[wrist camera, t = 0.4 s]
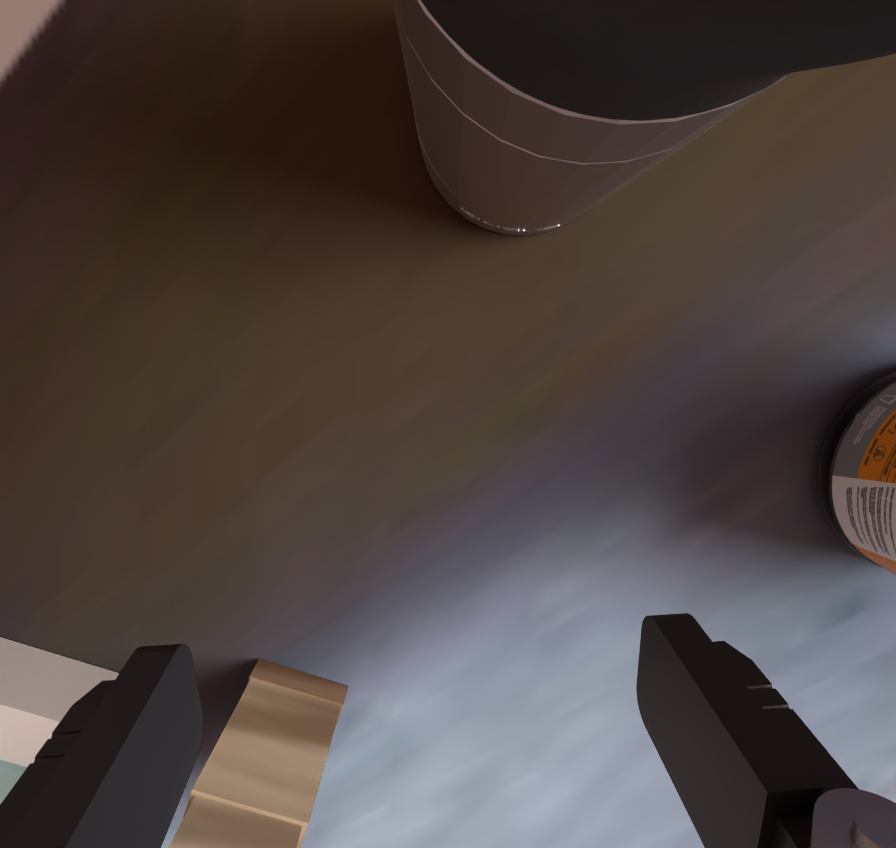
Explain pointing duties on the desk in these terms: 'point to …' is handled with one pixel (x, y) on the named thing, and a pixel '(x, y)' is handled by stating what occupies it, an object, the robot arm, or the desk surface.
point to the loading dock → (36, 702)
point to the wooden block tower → (265, 764)
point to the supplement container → (863, 474)
